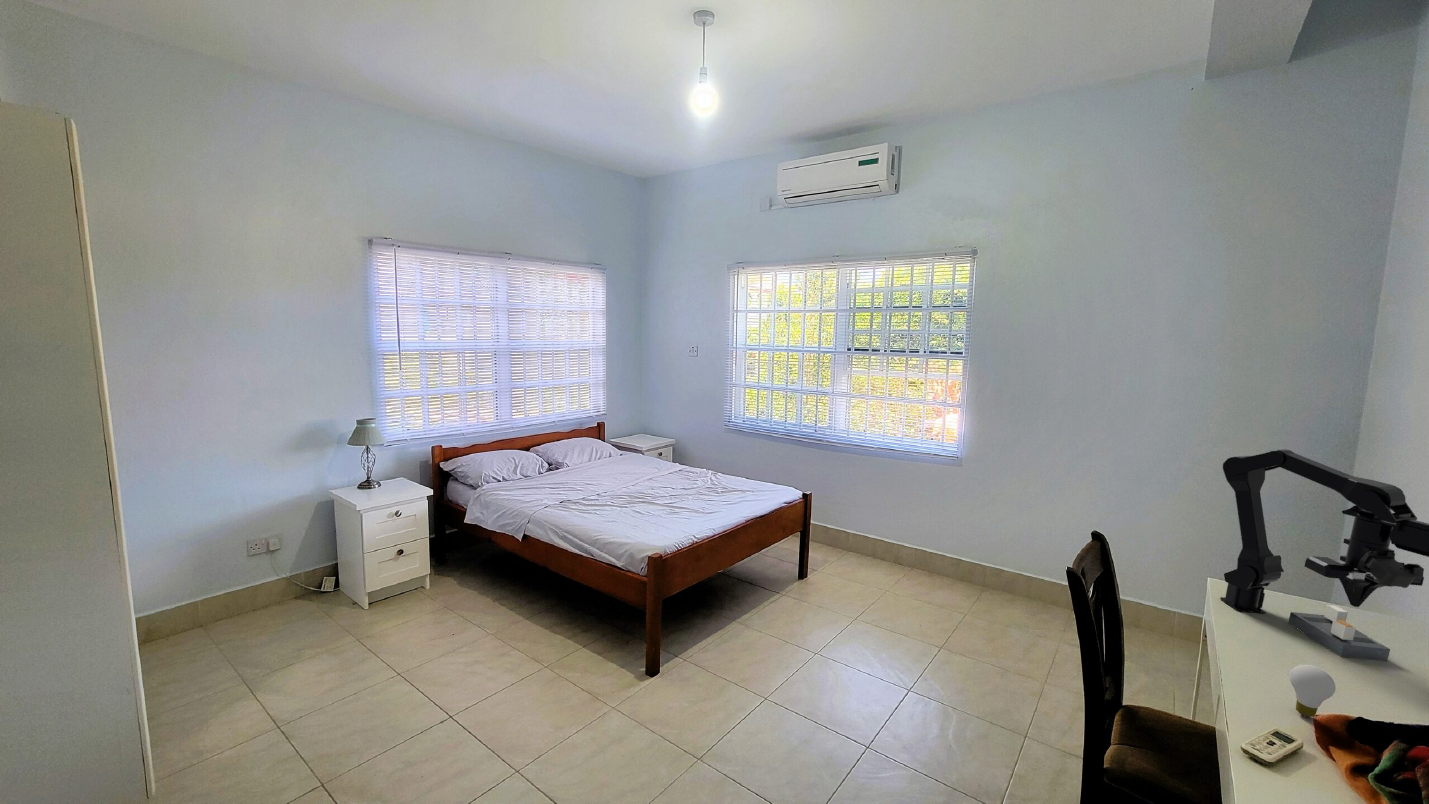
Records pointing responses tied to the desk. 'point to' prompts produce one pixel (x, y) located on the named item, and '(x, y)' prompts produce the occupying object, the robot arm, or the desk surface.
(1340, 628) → the handle
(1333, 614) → the handle
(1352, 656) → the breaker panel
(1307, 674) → the light bulb
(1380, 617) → the desk surface
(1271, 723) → the desk surface
